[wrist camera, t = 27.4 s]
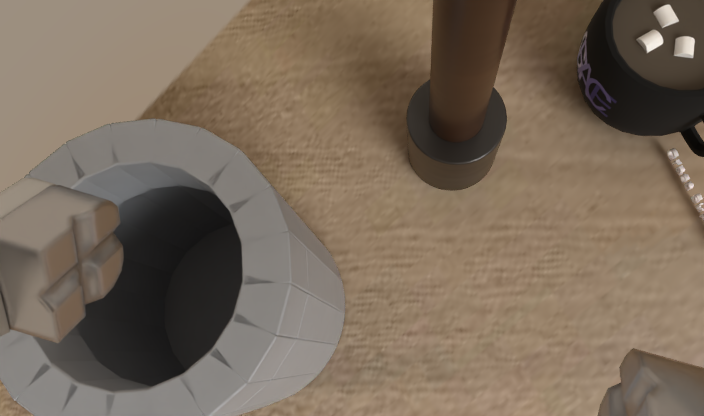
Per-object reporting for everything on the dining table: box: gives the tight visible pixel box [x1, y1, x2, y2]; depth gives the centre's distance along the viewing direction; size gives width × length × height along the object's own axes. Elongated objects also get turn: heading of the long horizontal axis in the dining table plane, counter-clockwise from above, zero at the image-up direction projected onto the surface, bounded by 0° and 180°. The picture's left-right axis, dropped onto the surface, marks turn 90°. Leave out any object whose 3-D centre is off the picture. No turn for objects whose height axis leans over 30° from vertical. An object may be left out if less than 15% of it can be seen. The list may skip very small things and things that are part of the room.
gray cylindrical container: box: [0, 119, 345, 416], centre depth 22 cm, size 9×9×12 cm
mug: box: [577, 0, 704, 221], centre depth 24 cm, size 12×6×8 cm, turn 20°
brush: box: [406, 0, 517, 190], centre depth 21 cm, size 4×4×16 cm
